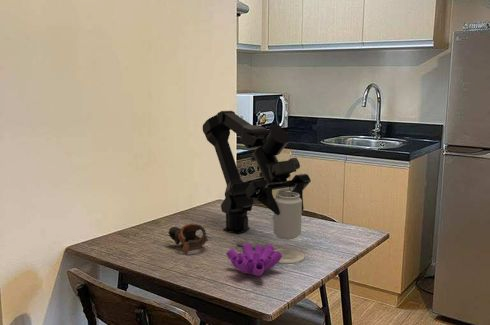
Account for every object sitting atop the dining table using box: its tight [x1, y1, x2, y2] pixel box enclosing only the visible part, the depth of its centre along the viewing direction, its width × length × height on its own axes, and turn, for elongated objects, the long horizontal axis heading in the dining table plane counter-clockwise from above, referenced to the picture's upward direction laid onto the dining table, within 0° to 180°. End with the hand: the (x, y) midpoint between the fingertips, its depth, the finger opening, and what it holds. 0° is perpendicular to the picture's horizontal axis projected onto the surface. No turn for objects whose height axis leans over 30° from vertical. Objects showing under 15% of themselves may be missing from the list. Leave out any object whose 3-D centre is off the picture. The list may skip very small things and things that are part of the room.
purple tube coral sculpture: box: [225, 243, 282, 277], centre depth 126 cm, size 11×15×10 cm
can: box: [272, 192, 303, 241], centre depth 134 cm, size 8×8×12 cm
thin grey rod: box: [236, 241, 265, 251], centre depth 142 cm, size 11×1×1 cm, turn 56°
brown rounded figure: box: [167, 223, 209, 255], centre depth 143 cm, size 12×10×8 cm
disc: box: [274, 248, 305, 265], centre depth 136 cm, size 10×10×1 cm
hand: (290, 212), depth 133 cm, fingers closed on can, 7 cm apart
